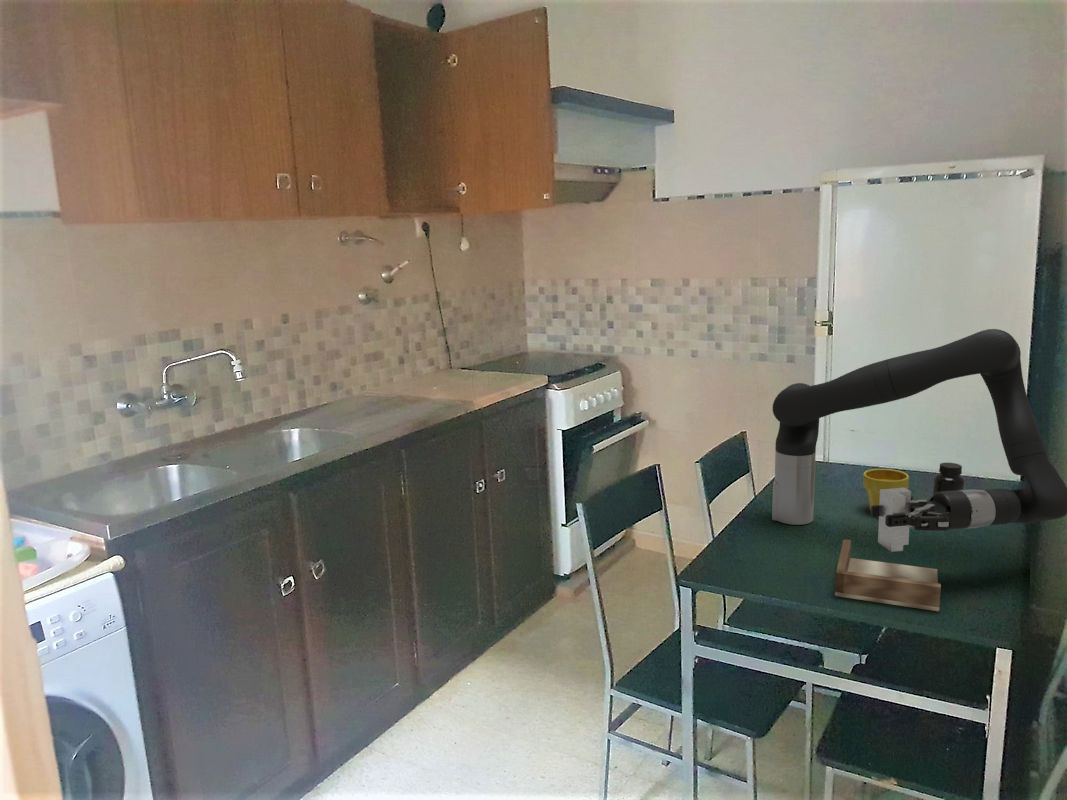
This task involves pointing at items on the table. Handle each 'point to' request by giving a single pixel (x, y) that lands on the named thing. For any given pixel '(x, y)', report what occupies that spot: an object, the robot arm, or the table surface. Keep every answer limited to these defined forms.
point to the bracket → (890, 505)
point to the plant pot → (883, 482)
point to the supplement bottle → (949, 478)
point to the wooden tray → (886, 582)
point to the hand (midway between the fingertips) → (879, 516)
